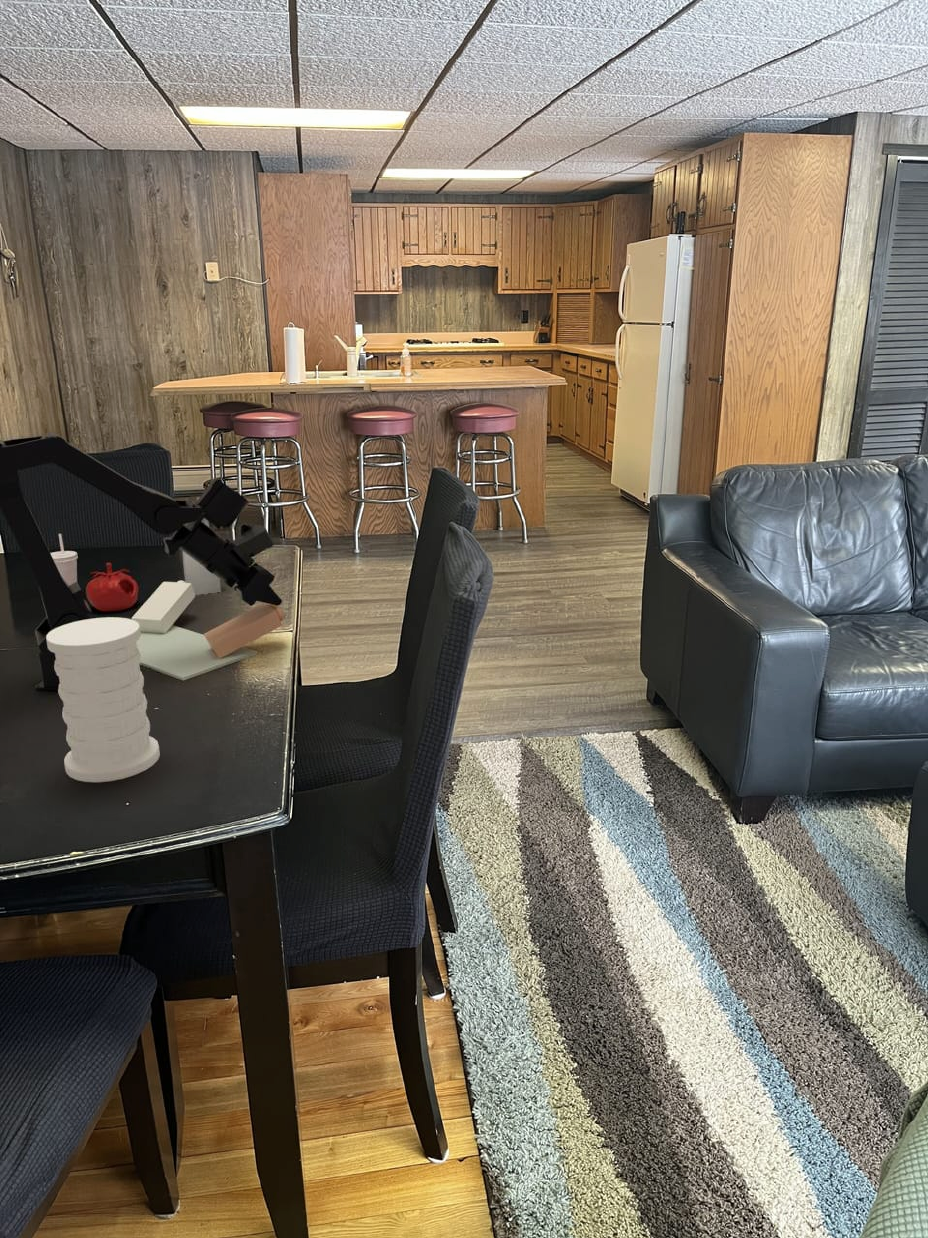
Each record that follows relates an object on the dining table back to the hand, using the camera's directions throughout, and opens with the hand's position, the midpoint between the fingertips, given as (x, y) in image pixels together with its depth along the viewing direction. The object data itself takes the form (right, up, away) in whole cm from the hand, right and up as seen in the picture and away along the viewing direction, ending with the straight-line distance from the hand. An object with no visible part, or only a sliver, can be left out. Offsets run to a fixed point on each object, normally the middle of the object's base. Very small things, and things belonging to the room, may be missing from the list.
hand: (280, 603), depth 156 cm
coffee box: (-30, +10, +57) cm, 65 cm away
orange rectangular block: (-11, -7, -4) cm, 14 cm away
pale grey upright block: (-24, +3, +35) cm, 43 cm away
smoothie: (-51, +1, +32) cm, 60 cm away
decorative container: (-14, -21, -40) cm, 47 cm away
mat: (-20, -8, +1) cm, 21 cm away
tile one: (-26, -4, +7) cm, 27 cm away
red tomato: (-39, -1, +25) cm, 47 cm away
